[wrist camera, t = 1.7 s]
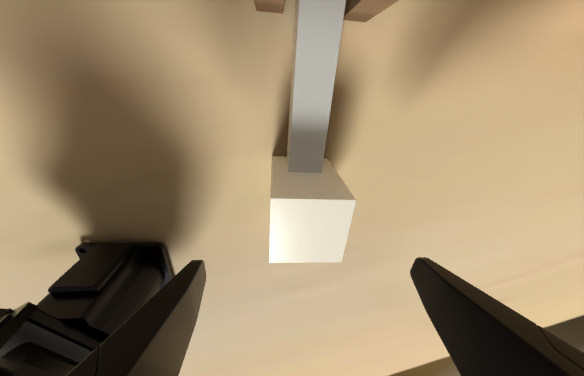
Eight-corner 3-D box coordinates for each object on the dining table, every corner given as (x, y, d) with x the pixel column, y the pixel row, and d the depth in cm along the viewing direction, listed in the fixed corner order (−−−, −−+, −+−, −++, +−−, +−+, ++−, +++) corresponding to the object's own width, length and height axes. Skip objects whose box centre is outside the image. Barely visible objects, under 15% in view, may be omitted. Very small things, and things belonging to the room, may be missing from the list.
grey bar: (320, 205, 17) (341, 262, 12) (270, 204, 17) (269, 262, 11) (374, -158, 9) (529, -526, 3) (280, -177, 8) (289, -624, 3)
